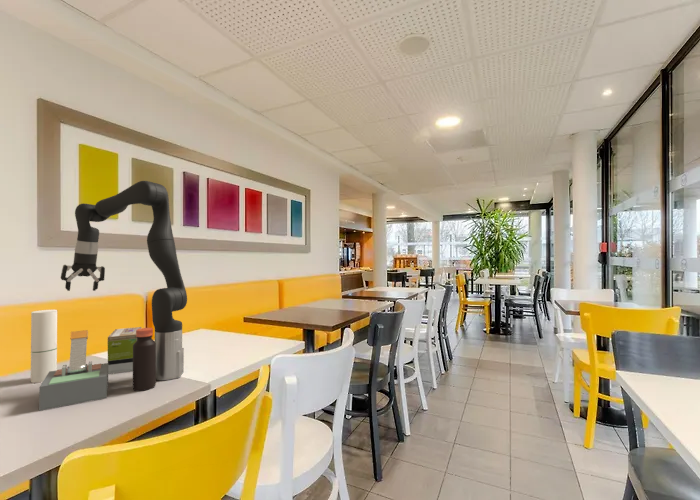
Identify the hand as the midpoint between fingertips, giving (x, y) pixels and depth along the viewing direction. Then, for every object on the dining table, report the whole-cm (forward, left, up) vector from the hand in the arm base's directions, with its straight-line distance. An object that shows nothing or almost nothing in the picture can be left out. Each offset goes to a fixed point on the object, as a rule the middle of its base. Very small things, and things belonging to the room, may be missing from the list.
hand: (81, 290), depth 142 cm
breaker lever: (-16, +36, -24) cm, 46 cm away
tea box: (-19, +8, -31) cm, 38 cm away
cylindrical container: (+5, +16, -31) cm, 35 cm away
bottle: (-34, +34, -31) cm, 57 cm away
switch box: (-15, +36, -31) cm, 49 cm away
